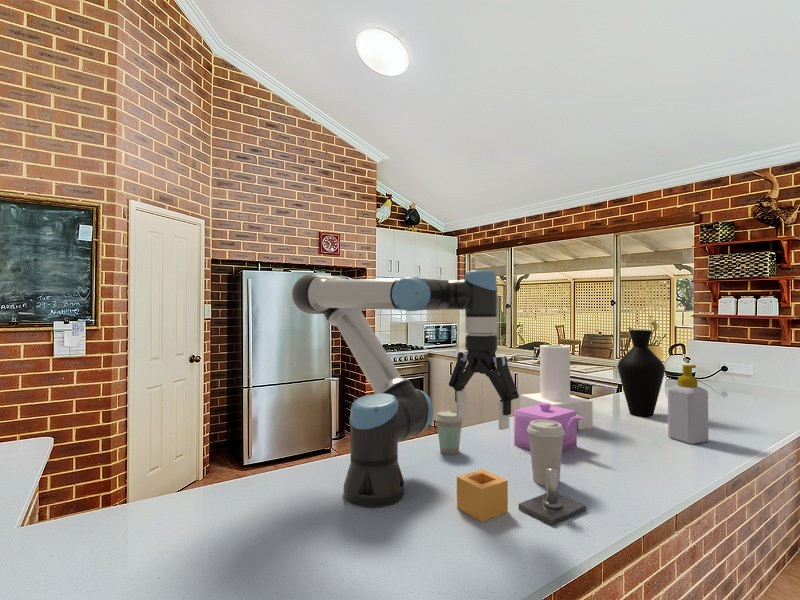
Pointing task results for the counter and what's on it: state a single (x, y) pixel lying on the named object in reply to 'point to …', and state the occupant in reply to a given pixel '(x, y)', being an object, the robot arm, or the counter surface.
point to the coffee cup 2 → (545, 448)
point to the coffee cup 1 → (449, 431)
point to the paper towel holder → (558, 385)
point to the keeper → (552, 503)
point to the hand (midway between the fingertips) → (481, 422)
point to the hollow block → (482, 494)
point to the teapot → (545, 413)
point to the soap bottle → (688, 409)
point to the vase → (641, 375)
